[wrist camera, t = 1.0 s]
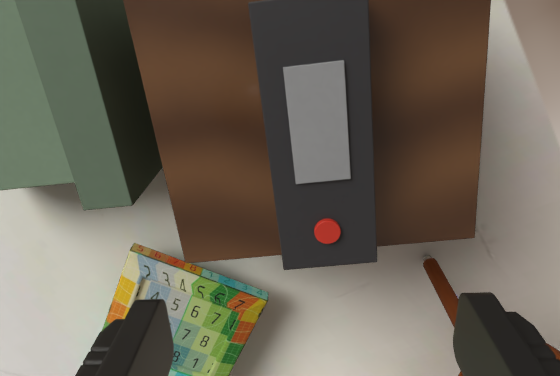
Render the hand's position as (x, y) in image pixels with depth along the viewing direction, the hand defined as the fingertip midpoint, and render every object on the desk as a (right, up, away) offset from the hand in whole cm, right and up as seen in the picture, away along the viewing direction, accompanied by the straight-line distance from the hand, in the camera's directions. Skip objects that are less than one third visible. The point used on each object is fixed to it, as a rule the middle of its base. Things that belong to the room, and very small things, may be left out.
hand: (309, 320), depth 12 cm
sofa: (-17, +12, +20) cm, 29 cm away
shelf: (+1, +11, +20) cm, 23 cm away
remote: (+1, +7, +9) cm, 11 cm away
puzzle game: (-11, -10, +30) cm, 34 cm away
